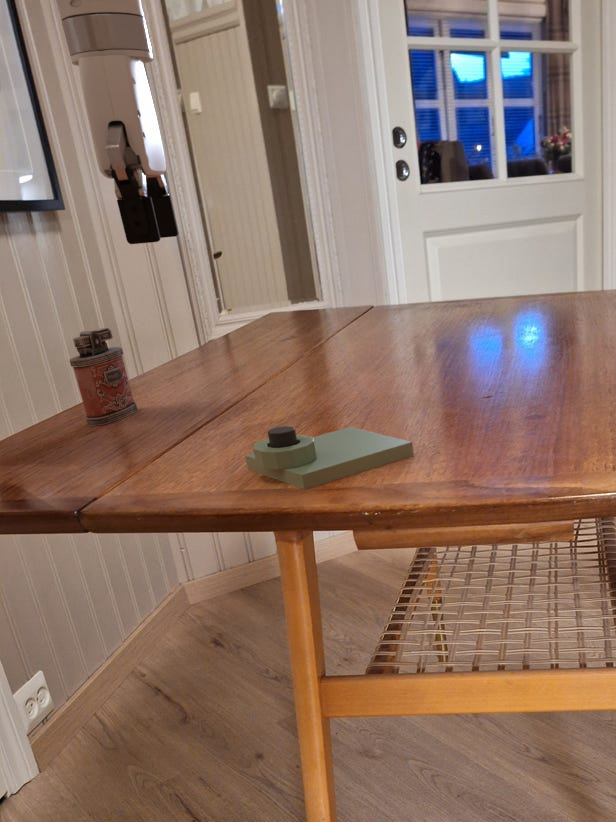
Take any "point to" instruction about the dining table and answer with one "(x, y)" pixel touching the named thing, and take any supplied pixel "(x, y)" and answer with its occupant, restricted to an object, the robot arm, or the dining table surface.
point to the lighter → (102, 378)
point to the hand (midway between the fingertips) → (154, 239)
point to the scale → (327, 456)
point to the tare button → (282, 437)
